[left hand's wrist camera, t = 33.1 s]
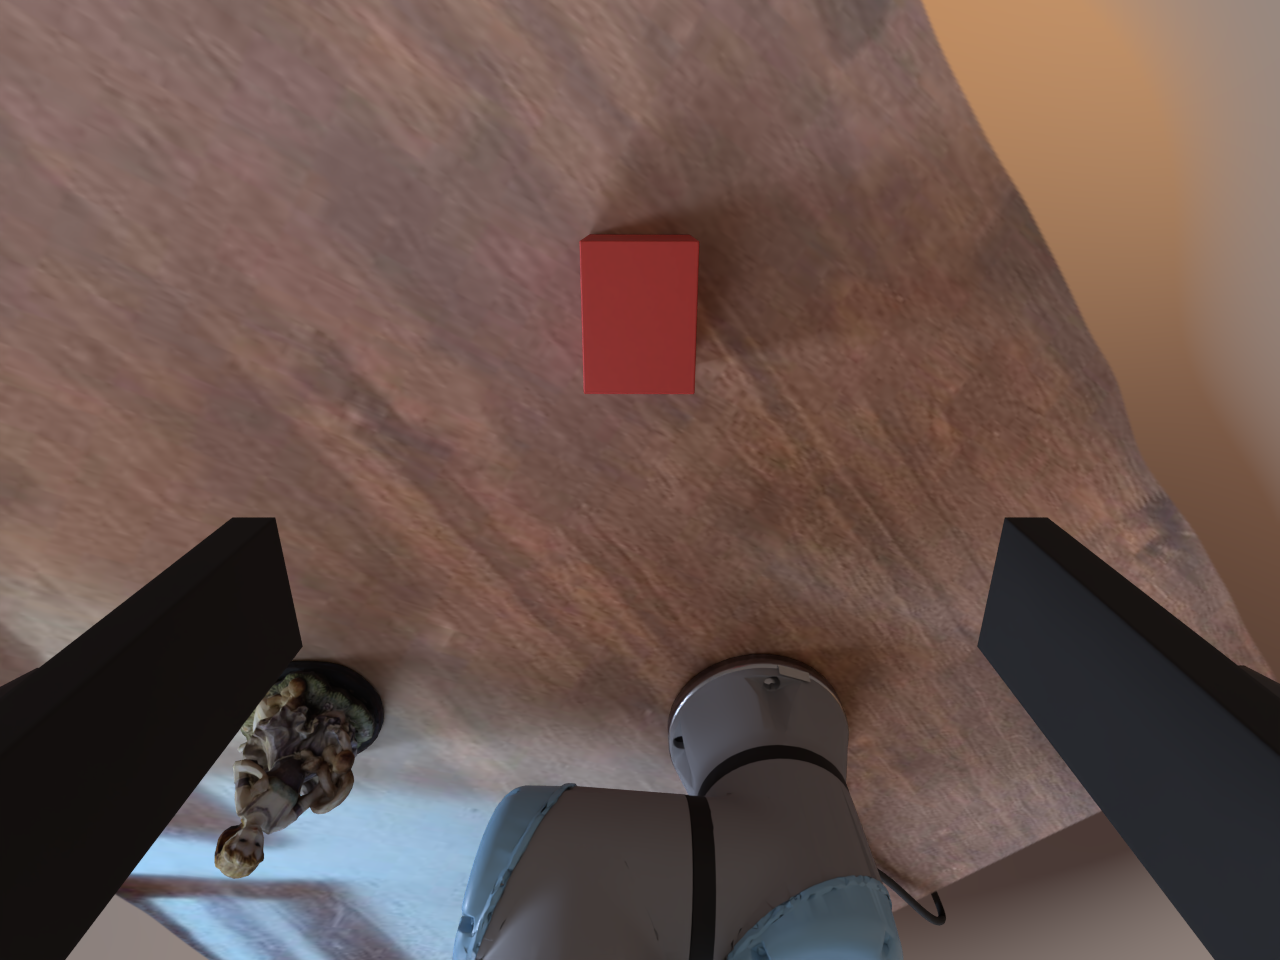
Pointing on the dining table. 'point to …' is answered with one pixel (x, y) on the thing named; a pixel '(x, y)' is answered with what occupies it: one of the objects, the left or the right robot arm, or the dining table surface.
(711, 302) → the dining table surface
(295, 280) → the dining table surface
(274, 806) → the figurine
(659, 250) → the brick
